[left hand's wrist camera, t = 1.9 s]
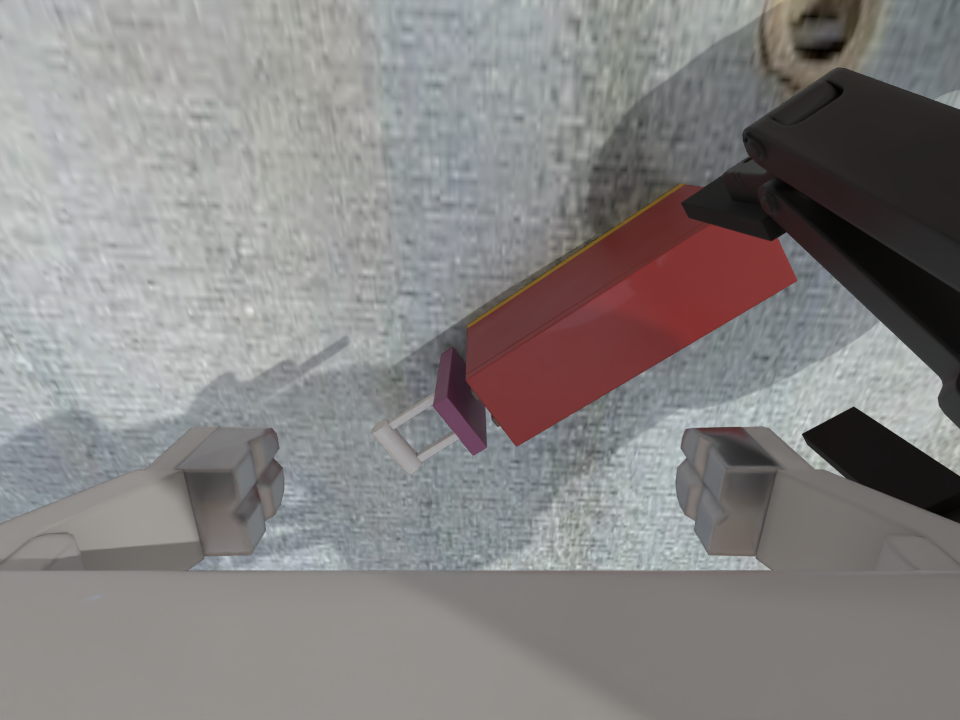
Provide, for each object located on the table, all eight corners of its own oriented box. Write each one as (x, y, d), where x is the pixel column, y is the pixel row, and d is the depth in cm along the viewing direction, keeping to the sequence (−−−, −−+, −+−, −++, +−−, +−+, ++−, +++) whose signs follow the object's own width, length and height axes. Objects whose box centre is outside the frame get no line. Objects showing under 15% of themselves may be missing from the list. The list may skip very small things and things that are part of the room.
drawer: (417, 431, 45) (403, 497, 36) (383, 392, 44) (361, 451, 35) (666, 275, 40) (719, 308, 31) (638, 224, 39) (686, 244, 30)
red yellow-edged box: (506, 378, 44) (516, 447, 34) (467, 325, 43) (464, 380, 32) (713, 248, 40) (798, 280, 30) (680, 183, 39) (758, 193, 28)
